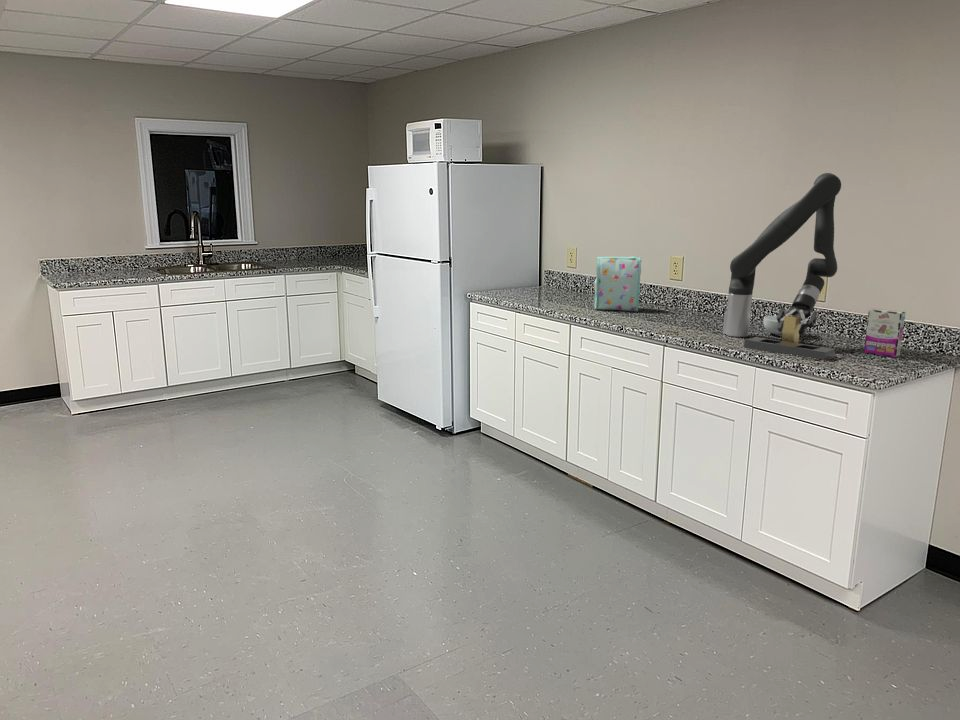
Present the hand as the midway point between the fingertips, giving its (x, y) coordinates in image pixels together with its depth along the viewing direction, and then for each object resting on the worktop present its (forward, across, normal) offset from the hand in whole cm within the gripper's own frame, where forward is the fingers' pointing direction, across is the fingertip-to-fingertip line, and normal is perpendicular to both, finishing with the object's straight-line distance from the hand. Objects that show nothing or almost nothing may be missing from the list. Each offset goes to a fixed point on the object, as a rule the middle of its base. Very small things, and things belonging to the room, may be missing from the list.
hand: (789, 332), depth 279 cm
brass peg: (+3, 0, +5) cm, 6 cm away
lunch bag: (-17, -103, +26) cm, 108 cm away
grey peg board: (+10, +4, -2) cm, 11 cm away
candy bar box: (-6, +28, +15) cm, 33 cm away
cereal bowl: (-14, -14, +23) cm, 31 cm away
